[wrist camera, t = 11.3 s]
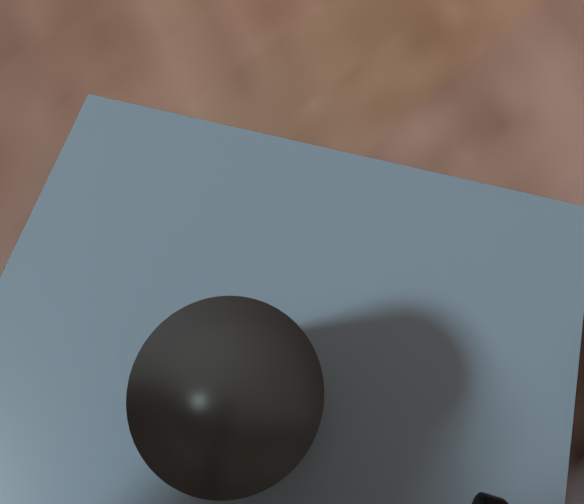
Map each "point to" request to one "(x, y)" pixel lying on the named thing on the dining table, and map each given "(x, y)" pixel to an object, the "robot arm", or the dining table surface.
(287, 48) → the dining table surface
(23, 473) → the lid
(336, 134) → the dining table surface
